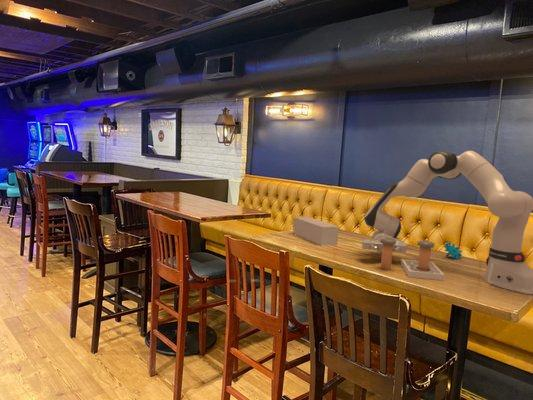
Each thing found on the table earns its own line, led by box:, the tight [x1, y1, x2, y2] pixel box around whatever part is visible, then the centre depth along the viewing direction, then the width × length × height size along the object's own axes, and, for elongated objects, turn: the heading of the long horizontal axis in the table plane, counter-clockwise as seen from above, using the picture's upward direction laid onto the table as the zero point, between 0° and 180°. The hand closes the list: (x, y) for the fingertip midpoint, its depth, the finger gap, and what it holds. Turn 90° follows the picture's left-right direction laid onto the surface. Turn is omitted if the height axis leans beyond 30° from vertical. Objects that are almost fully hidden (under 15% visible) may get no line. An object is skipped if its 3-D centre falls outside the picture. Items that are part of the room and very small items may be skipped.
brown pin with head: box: [380, 238, 396, 271], centre depth 178 cm, size 7×7×14 cm
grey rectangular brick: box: [292, 216, 340, 247], centre depth 238 cm, size 32×11×11 cm, turn 25°
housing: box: [400, 258, 445, 281], centre depth 177 cm, size 20×14×4 cm
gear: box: [443, 241, 463, 260], centre depth 212 cm, size 11×6×10 cm
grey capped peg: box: [417, 240, 435, 271], centre depth 172 cm, size 7×7×14 cm
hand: (385, 249), depth 184 cm, fingers open, 8 cm apart
